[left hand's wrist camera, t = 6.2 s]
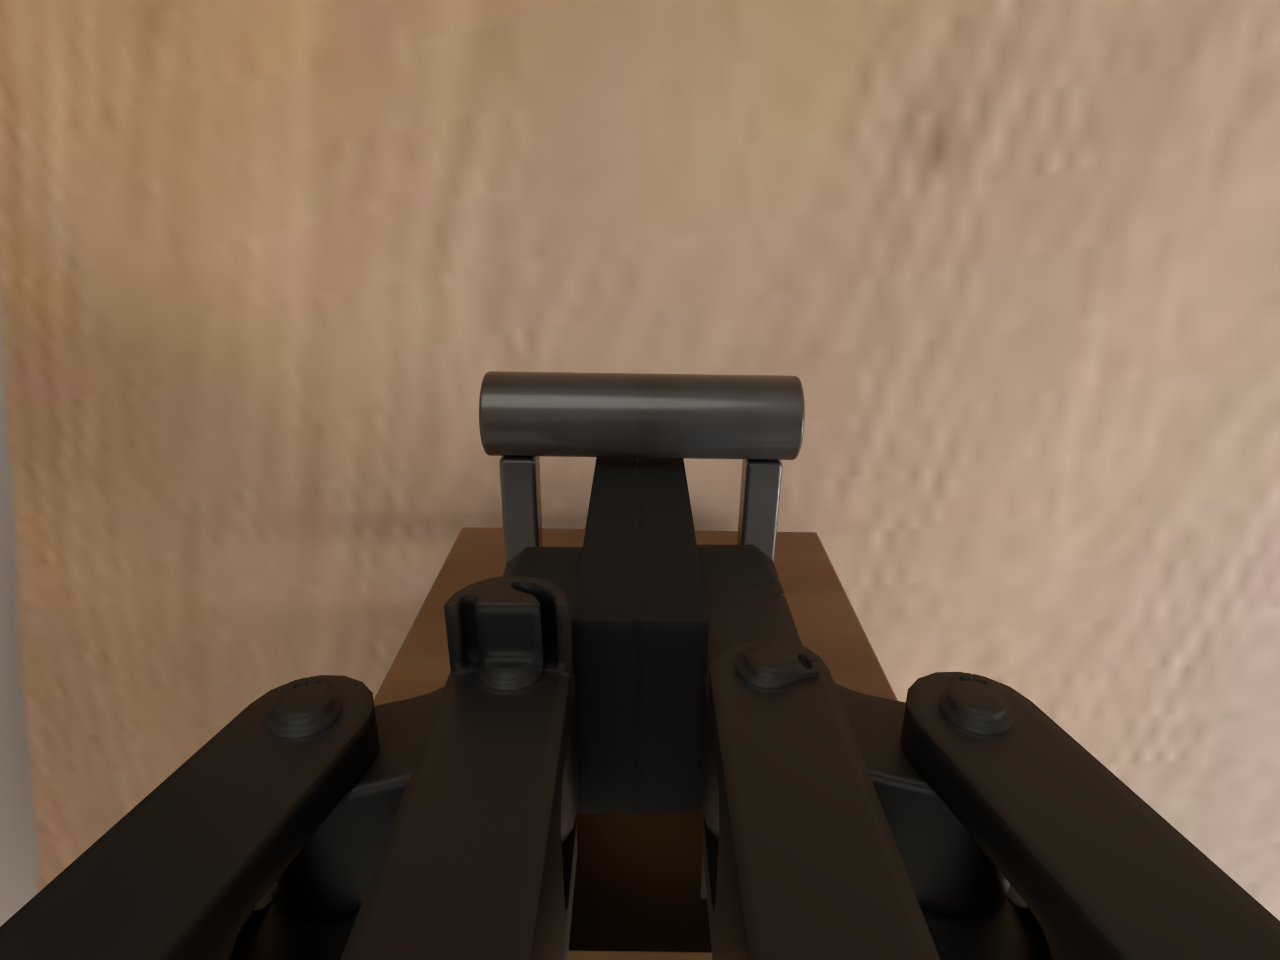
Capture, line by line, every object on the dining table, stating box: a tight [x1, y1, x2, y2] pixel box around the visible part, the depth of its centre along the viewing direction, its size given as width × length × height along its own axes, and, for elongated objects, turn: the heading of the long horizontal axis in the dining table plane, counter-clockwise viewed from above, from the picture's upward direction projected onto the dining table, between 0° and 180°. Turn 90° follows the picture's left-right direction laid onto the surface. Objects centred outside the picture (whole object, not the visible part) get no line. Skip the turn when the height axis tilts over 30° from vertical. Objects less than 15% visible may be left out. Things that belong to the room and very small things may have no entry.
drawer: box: [374, 371, 898, 952], centre depth 18 cm, size 25×9×7 cm, turn 179°
